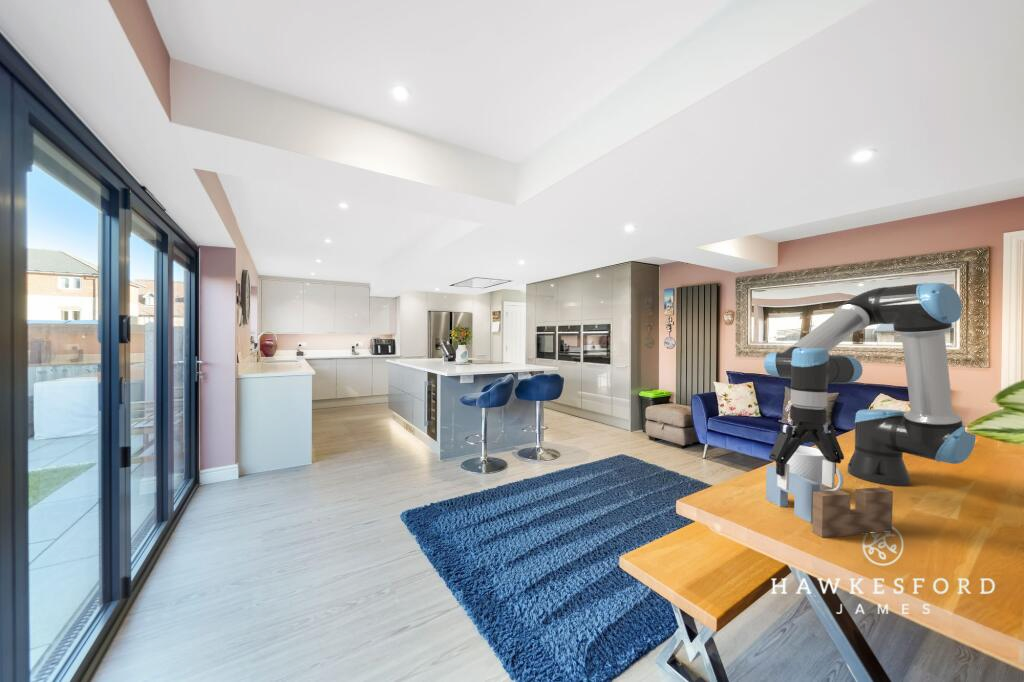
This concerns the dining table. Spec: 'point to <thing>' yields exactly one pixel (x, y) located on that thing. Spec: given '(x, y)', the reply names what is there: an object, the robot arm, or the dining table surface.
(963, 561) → the dining table surface
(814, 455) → the mug
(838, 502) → the walnut slot plate
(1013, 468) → the dining table surface
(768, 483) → the pale blue flat slat
